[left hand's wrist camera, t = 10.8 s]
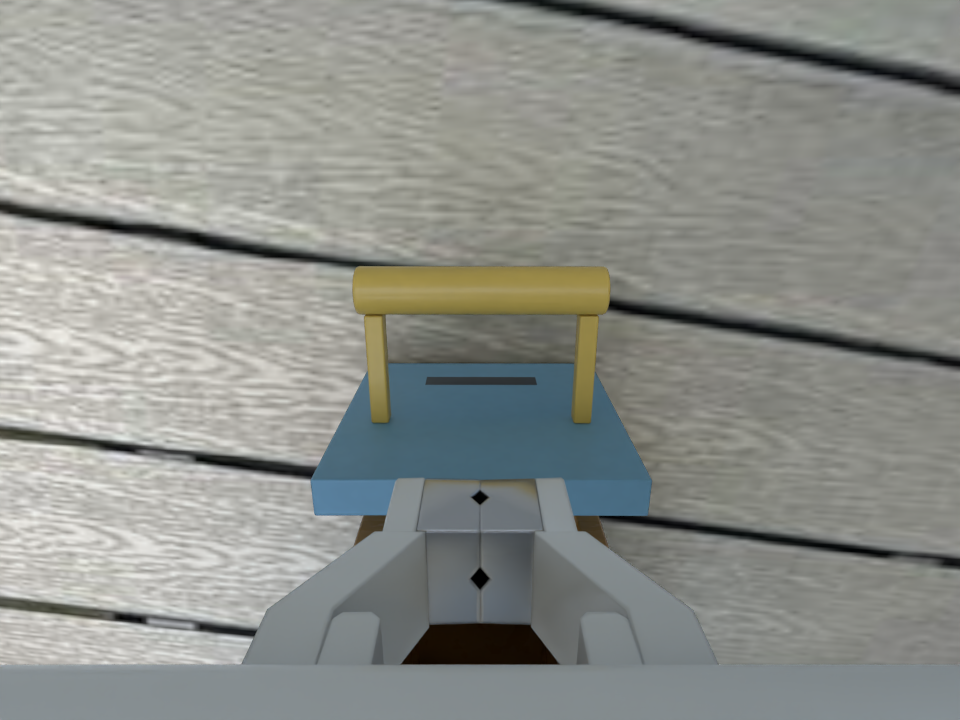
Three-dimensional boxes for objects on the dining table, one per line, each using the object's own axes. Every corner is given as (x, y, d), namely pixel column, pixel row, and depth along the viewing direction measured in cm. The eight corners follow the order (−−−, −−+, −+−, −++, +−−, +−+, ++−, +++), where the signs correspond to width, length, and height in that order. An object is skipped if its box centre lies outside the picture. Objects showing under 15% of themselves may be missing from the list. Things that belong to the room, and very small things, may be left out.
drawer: (362, 240, 23) (287, 295, 14) (600, 240, 23) (675, 295, 14) (394, 703, 32) (361, 916, 23) (566, 703, 32) (600, 917, 23)
